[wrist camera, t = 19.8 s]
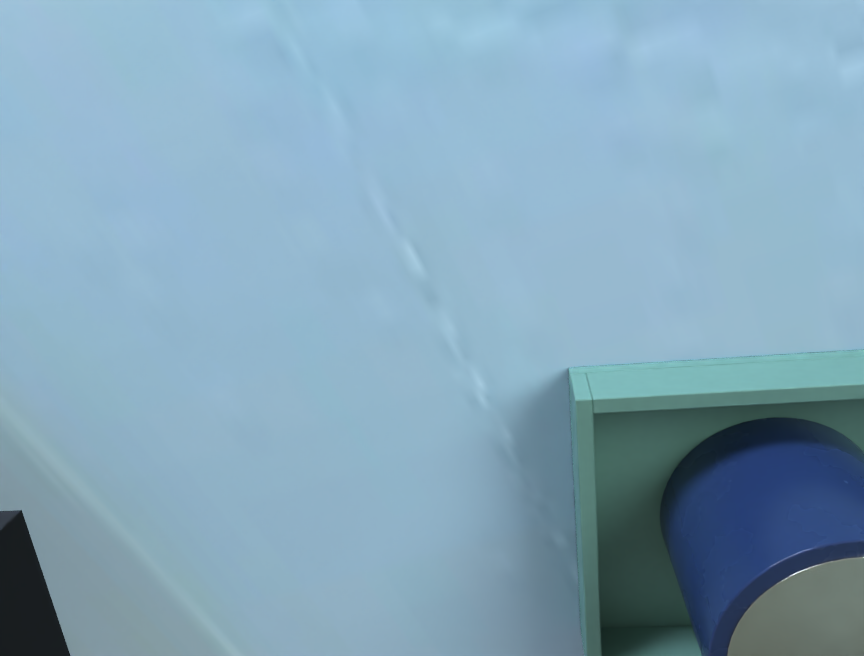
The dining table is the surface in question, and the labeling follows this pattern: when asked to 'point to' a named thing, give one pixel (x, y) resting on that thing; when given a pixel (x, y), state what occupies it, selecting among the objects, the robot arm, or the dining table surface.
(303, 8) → the dining table surface
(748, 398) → the tray
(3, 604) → the robot arm
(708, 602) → the pot
